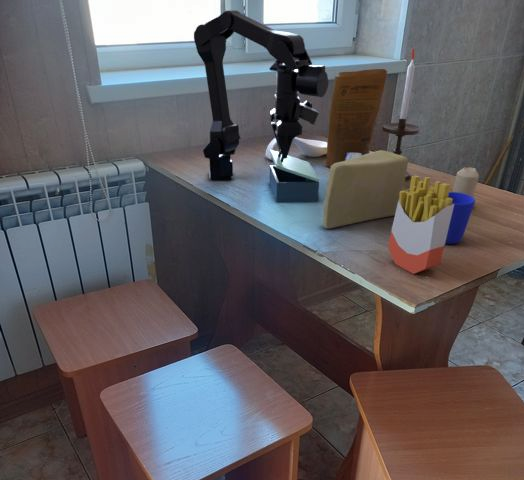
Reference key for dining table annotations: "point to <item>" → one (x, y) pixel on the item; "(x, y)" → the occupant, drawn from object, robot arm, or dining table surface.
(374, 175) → the cheese
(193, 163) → the dining table surface
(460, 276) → the dining table surface
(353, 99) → the pancake mix bag
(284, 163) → the lunchbox lid
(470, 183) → the candle
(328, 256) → the dining table surface
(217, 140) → the robot arm
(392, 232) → the french fries container
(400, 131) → the candlestick
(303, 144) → the spoon rest
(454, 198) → the mug
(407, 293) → the dining table surface
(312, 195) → the lunchbox
